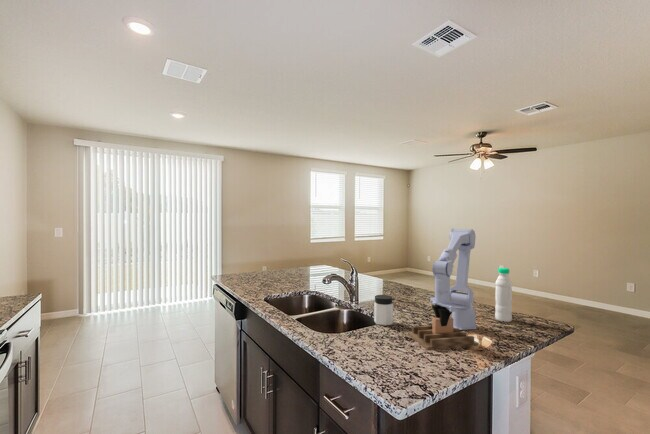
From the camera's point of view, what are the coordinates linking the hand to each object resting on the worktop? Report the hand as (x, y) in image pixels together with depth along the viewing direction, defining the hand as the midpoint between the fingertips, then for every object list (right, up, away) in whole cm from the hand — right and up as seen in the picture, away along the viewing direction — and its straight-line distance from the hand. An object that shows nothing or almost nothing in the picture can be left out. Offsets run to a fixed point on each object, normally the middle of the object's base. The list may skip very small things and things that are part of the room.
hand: (441, 324), depth 126 cm
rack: (0, -6, 0) cm, 6 cm away
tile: (0, -3, 0) cm, 3 cm away
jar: (-20, -6, +20) cm, 29 cm away
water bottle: (+39, -7, +26) cm, 48 cm away
